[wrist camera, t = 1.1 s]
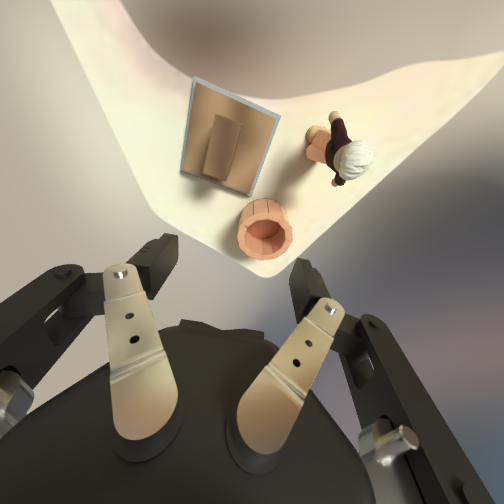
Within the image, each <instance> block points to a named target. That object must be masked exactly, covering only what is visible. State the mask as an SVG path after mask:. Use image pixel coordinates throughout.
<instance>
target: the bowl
mask: <svg viewBox="0 0 504 504" xmlns="http://www.w3.org/2000/svg"><path fill="white" fill-rule="evenodd" d="M237 238H238V242H239V246H240V249H241V250H242V251H243V252H245V253H246V254H247V255H248V256H249V257H251V258H255V259H258V260H270V259H274V258H277V257H279V256H280V255H282V254H283V253H285V252H286V251H287V249H288V248H289V246H290V244H291V242H292V227H291V225H290V222H289V219H288V216H287V214H286V212H285V211H284V209H283V207H282V206H281V205H280V204H279V203H277V202H276V201H273V200H270V199H258V200H255V201H252V202H251V203H249V204H248V205H247V206H246V207H245V208H244V210H243V211H242V213H241V217H240V220H239V226H238V232H237Z"/></svg>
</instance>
